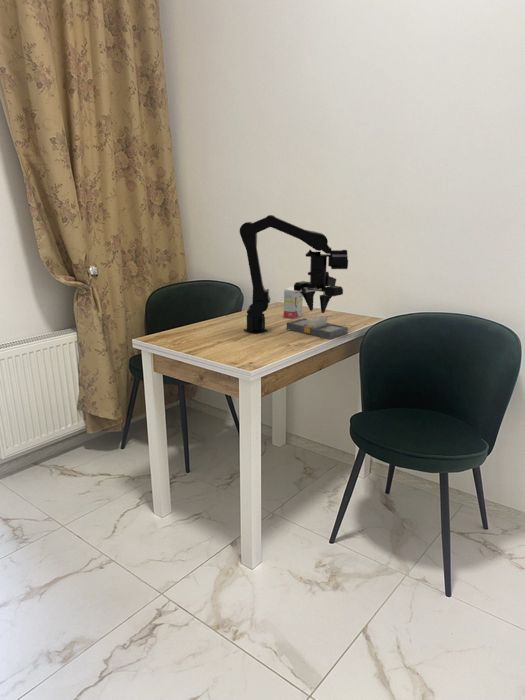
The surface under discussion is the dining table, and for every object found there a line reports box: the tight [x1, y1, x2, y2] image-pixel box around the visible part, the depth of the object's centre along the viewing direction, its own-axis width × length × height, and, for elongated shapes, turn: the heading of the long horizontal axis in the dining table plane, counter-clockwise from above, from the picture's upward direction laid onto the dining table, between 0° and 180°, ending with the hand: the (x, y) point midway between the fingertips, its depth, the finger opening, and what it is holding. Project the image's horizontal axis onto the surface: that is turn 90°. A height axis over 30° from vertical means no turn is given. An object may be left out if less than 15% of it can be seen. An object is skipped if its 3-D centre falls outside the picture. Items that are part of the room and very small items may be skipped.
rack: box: [286, 317, 349, 340], centre depth 183 cm, size 11×20×3 cm, turn 45°
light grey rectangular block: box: [306, 315, 328, 328], centre depth 183 cm, size 7×4×4 cm, turn 135°
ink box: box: [283, 286, 304, 319], centre depth 207 cm, size 9×5×12 cm, turn 149°
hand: (317, 311), depth 182 cm, fingers open, 5 cm apart
